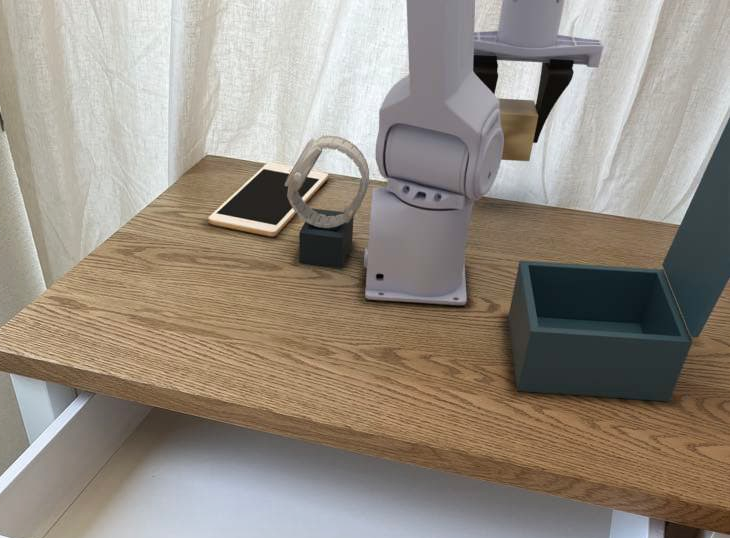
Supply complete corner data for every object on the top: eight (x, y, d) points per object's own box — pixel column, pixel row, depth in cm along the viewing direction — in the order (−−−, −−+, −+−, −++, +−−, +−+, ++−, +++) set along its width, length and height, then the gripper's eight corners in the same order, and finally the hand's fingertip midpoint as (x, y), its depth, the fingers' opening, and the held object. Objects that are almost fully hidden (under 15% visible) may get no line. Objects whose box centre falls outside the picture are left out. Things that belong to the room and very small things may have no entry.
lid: (780, 163, 54) (789, 165, 54) (735, 102, 62) (743, 103, 62) (690, 337, 63) (698, 338, 63) (661, 264, 71) (668, 265, 71)
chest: (516, 391, 68) (530, 331, 64) (507, 317, 76) (519, 260, 72) (668, 401, 68) (692, 341, 64) (643, 326, 76) (663, 269, 71)
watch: (293, 235, 86) (292, 124, 79) (369, 244, 85) (376, 133, 77) (280, 260, 83) (277, 147, 75) (358, 270, 82) (365, 156, 74)
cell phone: (329, 178, 96) (329, 173, 96) (274, 237, 86) (274, 232, 85) (267, 167, 98) (267, 161, 98) (207, 224, 87) (206, 218, 87)
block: (486, 159, 86) (493, 113, 83) (483, 142, 89) (490, 97, 86) (529, 161, 86) (538, 115, 83) (525, 145, 89) (534, 100, 86)
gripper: (608, -22, 79) (574, 127, 89) (456, -29, 80) (439, 120, 90) (620, -3, 74) (582, 153, 84) (458, -11, 75) (440, 145, 85)
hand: (509, 138), depth 87 cm, fingers closed on block, 4 cm apart
